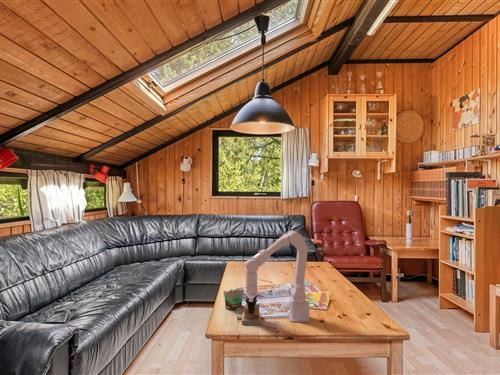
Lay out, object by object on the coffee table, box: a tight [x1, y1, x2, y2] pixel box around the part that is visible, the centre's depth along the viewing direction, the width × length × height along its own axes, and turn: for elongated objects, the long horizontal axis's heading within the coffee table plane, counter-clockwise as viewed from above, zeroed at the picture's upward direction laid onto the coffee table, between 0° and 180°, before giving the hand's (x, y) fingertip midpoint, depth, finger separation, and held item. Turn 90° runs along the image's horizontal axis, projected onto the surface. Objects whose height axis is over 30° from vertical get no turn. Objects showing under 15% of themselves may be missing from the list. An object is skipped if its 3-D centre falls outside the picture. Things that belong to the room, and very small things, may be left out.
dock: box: [241, 311, 262, 326], centre depth 161 cm, size 9×10×2 cm
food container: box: [223, 286, 245, 311], centre depth 176 cm, size 12×6×10 cm, turn 126°
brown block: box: [244, 303, 260, 319], centre depth 161 cm, size 7×5×5 cm
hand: (251, 311), depth 161 cm, fingers closed on brown block, 5 cm apart
